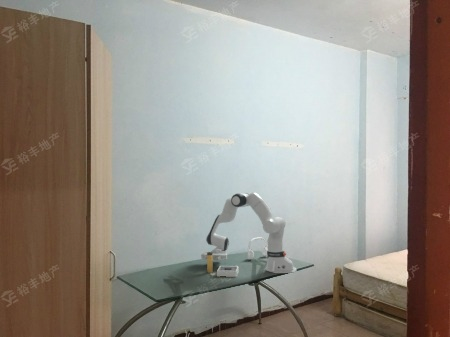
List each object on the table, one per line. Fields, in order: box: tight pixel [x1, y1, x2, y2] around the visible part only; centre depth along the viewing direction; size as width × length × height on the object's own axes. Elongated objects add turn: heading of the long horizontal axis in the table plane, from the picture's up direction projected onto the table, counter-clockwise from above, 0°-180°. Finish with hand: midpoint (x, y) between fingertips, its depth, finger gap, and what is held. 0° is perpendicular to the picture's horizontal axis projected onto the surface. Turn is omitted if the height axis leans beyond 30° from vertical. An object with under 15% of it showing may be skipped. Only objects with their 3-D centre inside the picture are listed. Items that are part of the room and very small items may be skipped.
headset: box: [247, 236, 268, 260], centre depth 290 cm, size 20×7×18 cm, turn 122°
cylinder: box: [206, 251, 214, 274], centre depth 250 cm, size 4×4×14 cm
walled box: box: [216, 265, 240, 278], centre depth 244 cm, size 14×13×4 cm
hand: (211, 258), depth 255 cm, fingers open, 8 cm apart
